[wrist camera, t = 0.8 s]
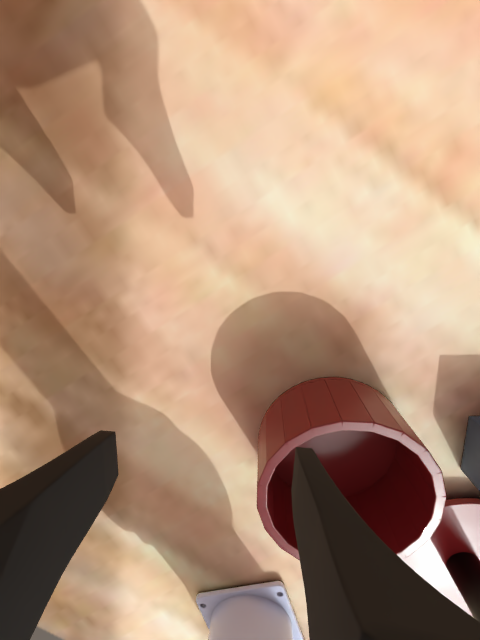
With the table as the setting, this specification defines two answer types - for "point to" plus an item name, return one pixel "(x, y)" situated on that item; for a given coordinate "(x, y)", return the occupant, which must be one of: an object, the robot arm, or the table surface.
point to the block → (472, 451)
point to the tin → (350, 462)
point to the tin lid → (454, 555)
